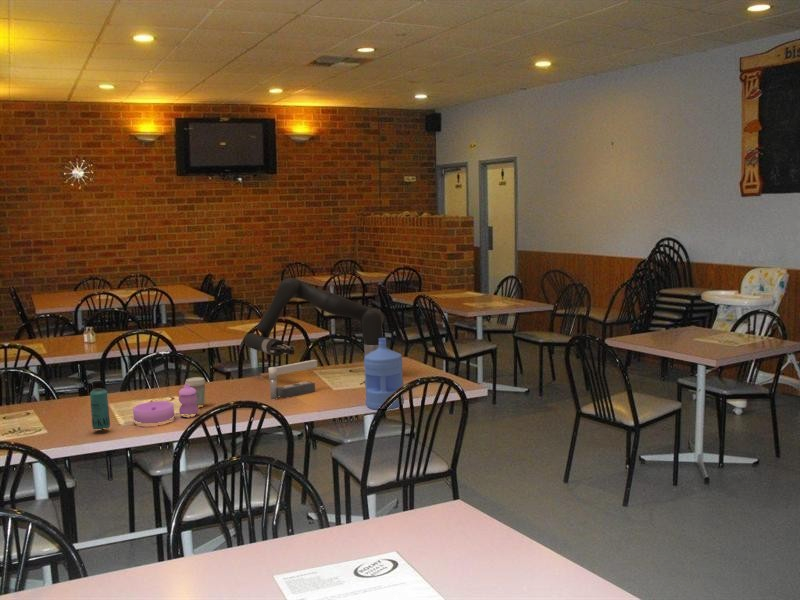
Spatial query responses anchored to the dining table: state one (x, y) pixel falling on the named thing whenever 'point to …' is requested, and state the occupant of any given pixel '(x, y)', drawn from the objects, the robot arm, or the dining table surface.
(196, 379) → the coffee cup
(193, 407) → the container set
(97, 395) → the beverage bottle
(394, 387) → the water jug
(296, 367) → the bar
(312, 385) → the block
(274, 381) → the post
